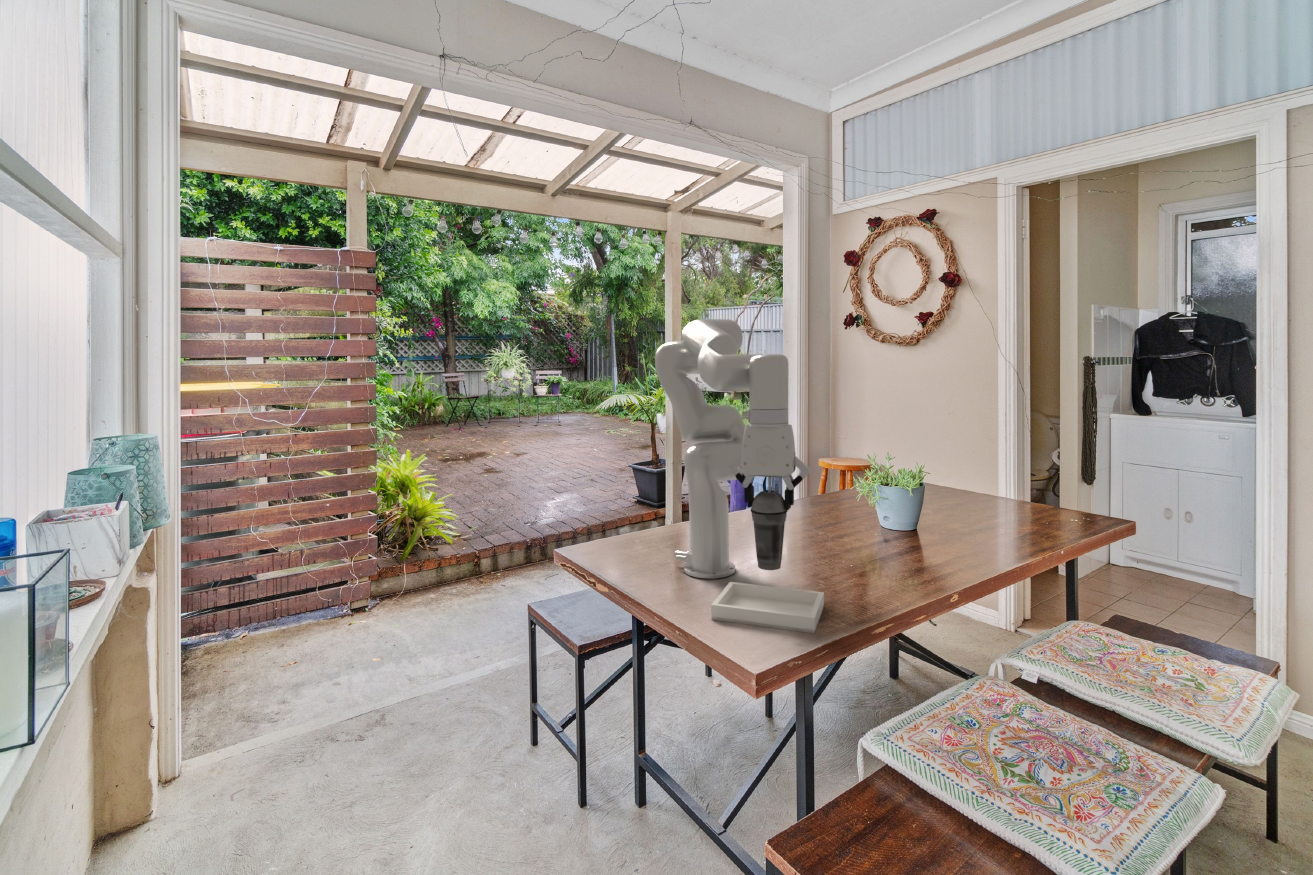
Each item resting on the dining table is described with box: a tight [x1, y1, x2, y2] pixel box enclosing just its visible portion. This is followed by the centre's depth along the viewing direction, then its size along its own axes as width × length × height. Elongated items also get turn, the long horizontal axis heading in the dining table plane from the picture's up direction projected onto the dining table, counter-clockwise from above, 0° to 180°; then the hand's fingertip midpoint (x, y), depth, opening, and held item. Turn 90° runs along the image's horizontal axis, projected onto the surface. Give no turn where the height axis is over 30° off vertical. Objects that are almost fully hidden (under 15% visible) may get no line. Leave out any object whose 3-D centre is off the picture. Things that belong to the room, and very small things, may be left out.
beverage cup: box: [750, 477, 789, 571], centre depth 125 cm, size 7×7×20 cm
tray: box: [710, 581, 825, 634], centre depth 127 cm, size 20×14×3 cm
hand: (769, 506), depth 125 cm, fingers closed on beverage cup, 6 cm apart
